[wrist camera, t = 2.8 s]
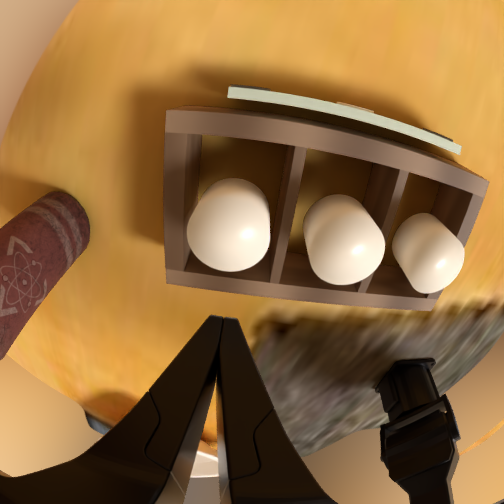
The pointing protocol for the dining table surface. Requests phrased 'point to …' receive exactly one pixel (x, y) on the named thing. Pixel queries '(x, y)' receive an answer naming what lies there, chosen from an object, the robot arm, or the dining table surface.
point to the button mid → (342, 240)
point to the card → (341, 113)
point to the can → (37, 257)
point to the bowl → (204, 461)
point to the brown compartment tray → (276, 258)
